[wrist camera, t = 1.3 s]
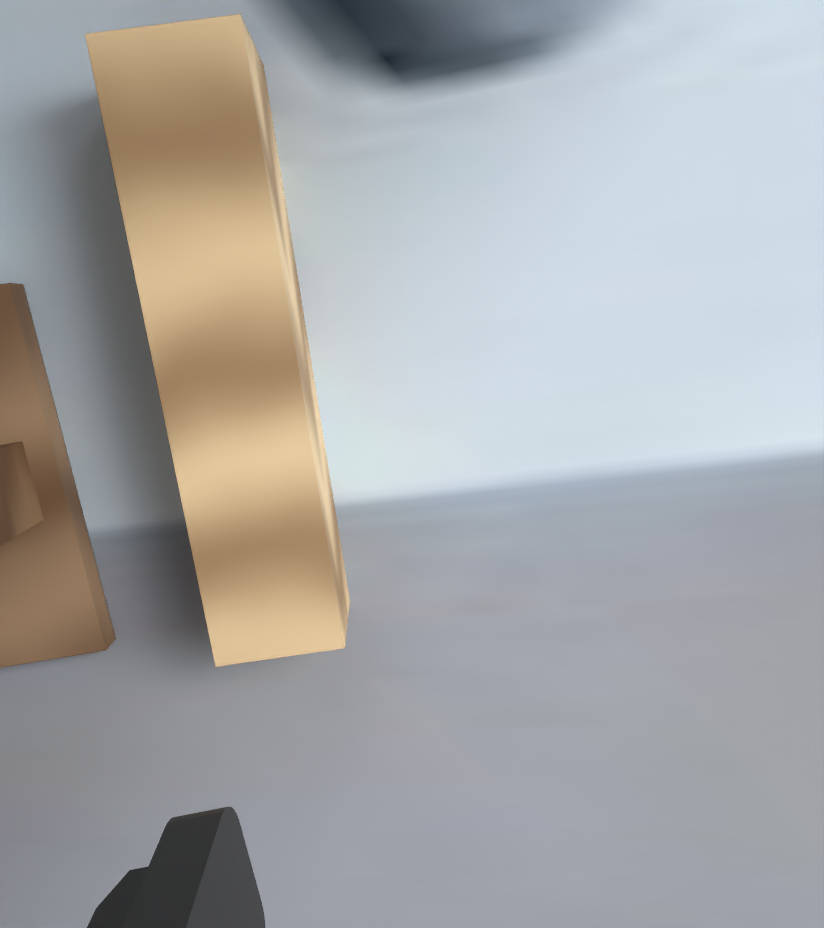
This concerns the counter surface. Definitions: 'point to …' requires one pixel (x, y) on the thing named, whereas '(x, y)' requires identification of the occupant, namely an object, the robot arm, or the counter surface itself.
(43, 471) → the ridge stand
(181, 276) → the oak batten
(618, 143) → the counter surface
